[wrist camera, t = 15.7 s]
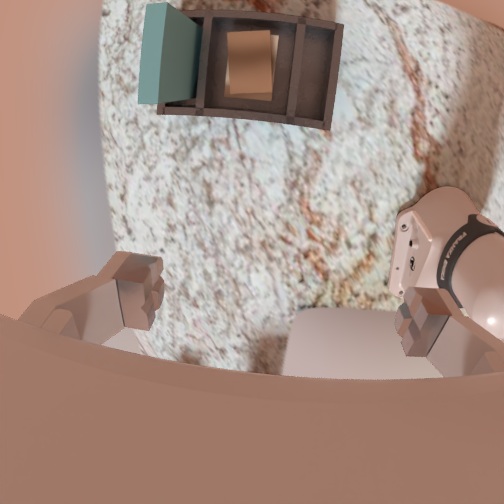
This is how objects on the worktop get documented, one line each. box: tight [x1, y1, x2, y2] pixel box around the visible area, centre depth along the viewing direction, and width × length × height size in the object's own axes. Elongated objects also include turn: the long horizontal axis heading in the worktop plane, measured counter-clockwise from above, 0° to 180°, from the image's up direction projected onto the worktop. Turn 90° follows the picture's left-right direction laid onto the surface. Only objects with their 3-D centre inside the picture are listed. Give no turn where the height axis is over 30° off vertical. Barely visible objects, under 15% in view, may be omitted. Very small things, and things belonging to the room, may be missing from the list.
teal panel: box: [138, 2, 203, 104], centre depth 30 cm, size 10×2×16 cm, turn 174°
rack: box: [157, 10, 344, 131], centre depth 35 cm, size 14×22×6 cm, turn 84°
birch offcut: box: [224, 35, 279, 101], centre depth 36 cm, size 9×6×2 cm, turn 174°
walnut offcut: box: [227, 30, 272, 94], centre depth 33 cm, size 8×5×2 cm, turn 2°
